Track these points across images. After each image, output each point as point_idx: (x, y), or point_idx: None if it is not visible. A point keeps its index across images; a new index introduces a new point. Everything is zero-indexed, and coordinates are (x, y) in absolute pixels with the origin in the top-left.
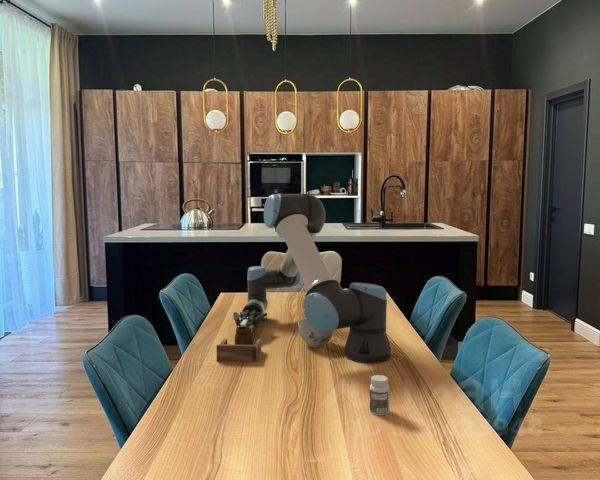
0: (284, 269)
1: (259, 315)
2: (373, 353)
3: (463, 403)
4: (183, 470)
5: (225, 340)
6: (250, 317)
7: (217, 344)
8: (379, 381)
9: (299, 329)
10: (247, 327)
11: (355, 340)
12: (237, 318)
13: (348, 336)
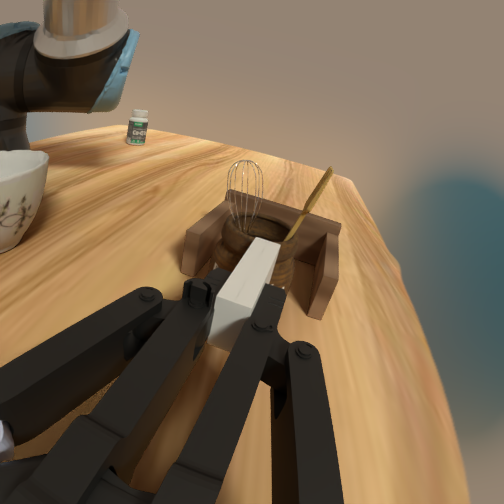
0: None
1: (41, 371)
2: None
3: (61, 135)
4: (307, 166)
5: (326, 263)
6: (241, 160)
7: (340, 226)
8: (145, 110)
9: (38, 186)
10: (239, 234)
11: (27, 140)
12: (307, 347)
13: (14, 146)
